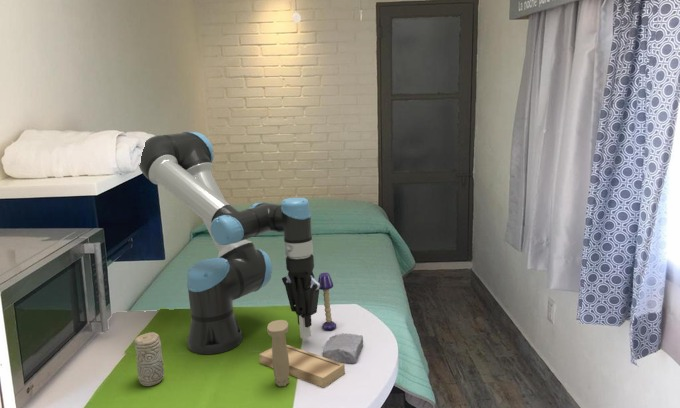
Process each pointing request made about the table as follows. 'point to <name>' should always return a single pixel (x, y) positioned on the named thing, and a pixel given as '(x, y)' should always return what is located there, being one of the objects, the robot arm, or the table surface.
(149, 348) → the carving
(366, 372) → the table surface
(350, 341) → the stone block
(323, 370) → the oak board
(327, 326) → the toy lamp
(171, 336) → the table surface
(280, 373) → the handle
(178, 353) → the table surface
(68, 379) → the table surface
